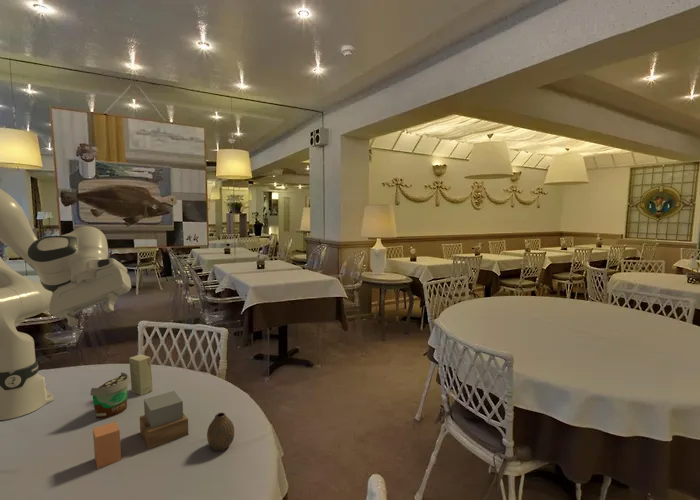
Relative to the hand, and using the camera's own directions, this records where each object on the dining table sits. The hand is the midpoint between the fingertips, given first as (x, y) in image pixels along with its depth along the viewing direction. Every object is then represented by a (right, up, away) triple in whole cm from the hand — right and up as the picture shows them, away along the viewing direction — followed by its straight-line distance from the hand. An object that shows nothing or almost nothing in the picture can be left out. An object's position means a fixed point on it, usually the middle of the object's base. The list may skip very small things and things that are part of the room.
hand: (91, 317), depth 98 cm
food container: (-6, -33, +20) cm, 39 cm away
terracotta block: (+6, -35, -3) cm, 36 cm away
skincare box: (-5, -32, +33) cm, 46 cm away
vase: (+33, -35, +3) cm, 48 cm away
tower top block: (+15, -29, +8) cm, 34 cm away
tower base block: (+15, -34, +9) cm, 38 cm away
